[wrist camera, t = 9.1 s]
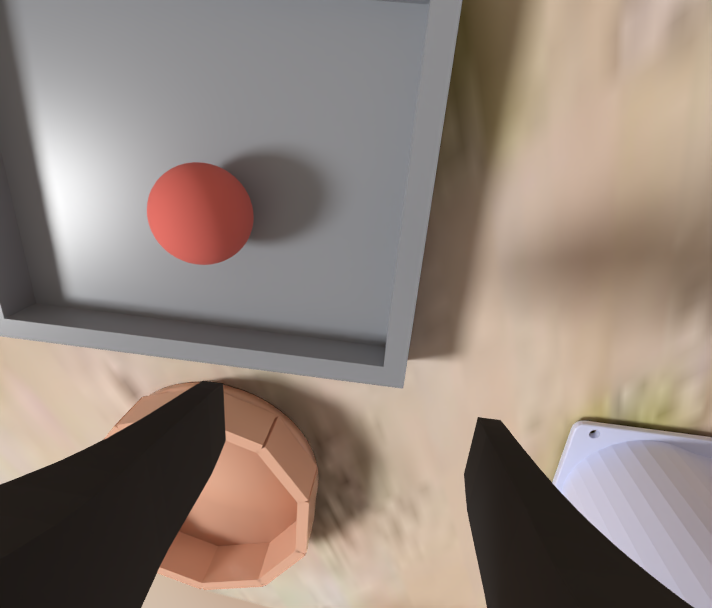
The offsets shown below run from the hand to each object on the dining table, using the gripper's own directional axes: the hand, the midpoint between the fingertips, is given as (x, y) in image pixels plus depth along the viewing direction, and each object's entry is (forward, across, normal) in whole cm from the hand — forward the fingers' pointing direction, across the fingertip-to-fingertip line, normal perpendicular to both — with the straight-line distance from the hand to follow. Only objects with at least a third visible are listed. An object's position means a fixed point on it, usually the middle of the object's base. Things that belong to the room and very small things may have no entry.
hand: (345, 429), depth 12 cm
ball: (+7, +7, -4) cm, 11 cm away
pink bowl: (+9, +8, +12) cm, 17 cm away
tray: (+9, +8, -5) cm, 13 cm away
